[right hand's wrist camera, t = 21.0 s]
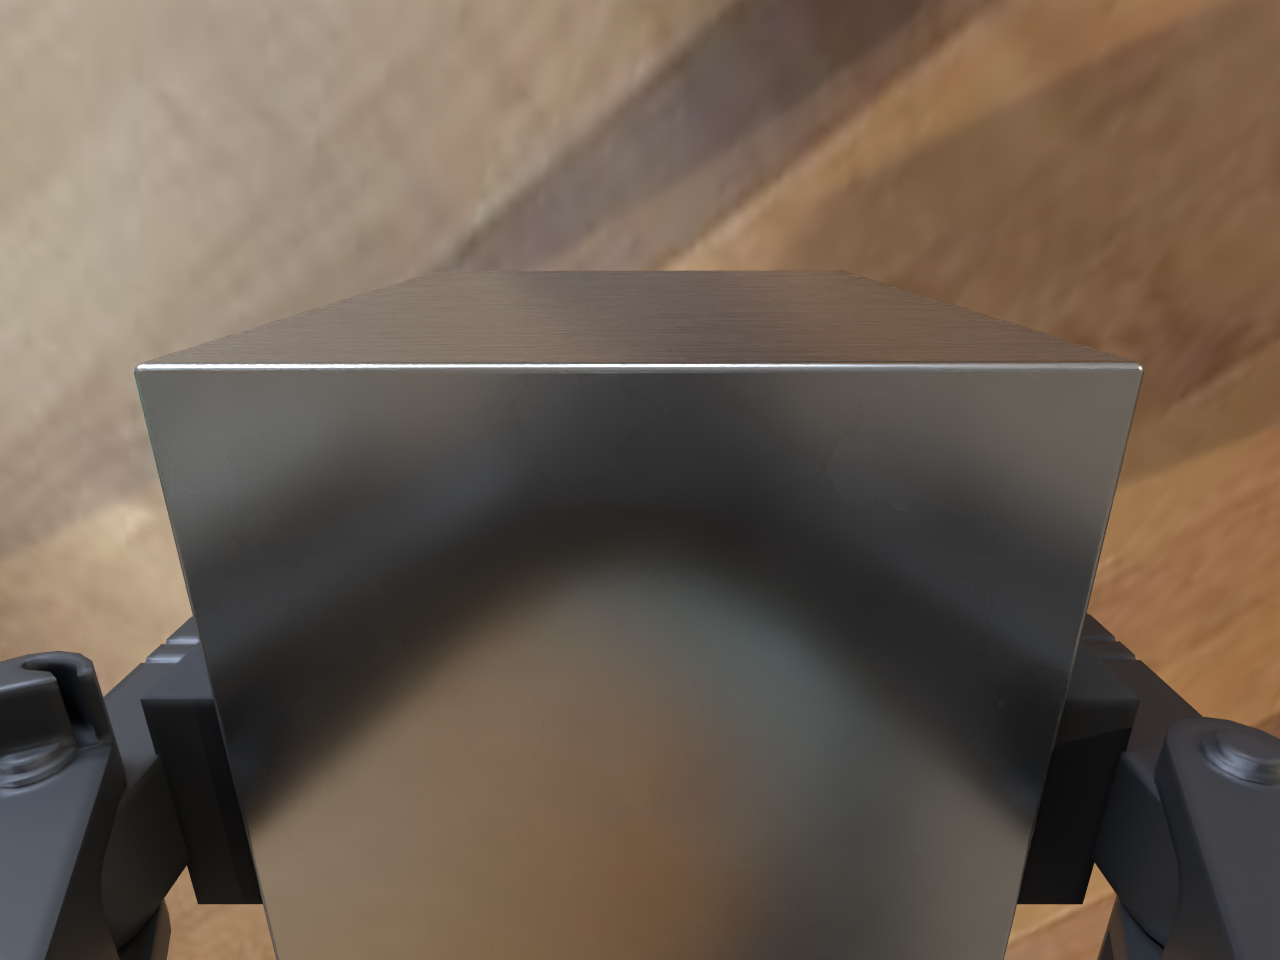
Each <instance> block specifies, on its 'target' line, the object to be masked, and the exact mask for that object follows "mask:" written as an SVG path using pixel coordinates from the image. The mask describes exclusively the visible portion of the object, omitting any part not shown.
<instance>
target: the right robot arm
mask: <svg viewBox="0 0 1280 960" xmlns="http://www.w3.org/2000/svg"><path fill="white" fill-rule="evenodd" d="M1094 862H1095V864H1096V865H1097V866H1098V868H1099V869H1100V871H1101V872H1102V874H1103V875H1104V877H1105V878H1106V879H1107V881H1108V882H1109V884H1110V885H1111V887H1112V888H1113V890H1114V891H1115V892H1116V894H1117V896H1116V900H1115V903H1114V906H1113V909H1112V913H1111V916H1110V919H1109V923H1108V926H1107V929H1106V932H1105V936H1104V939H1103V942H1102V946H1101V949H1100V952H1099V955H1098V959H1097V960H1280V739H1278V738H1276V737H1274V736H1272V735H1270V734H1268V733H1266V732H1264V731H1262V730H1259V729H1256V728H1253V727H1249V726H1246V725H1243V724H1240V723H1236V722H1233V721H1230V720H1224V719H1216V718H1208V717H1202V716H1201V715H1200V714H1199V713H1198V712H1197V711H1196V710H1195V709H1194V708H1193V707H1191V706H1190V705H1189V704H1188V703H1187V702H1186V701H1185V700H1184V699H1183V698H1182V697H1180V696H1179V695H1178V694H1177V693H1176V692H1175V691H1174V690H1173V689H1172V688H1171V687H1169V686H1168V685H1167V684H1166V683H1165V682H1164V681H1163V680H1162V679H1161V678H1159V677H1158V676H1157V675H1156V674H1155V673H1154V672H1153V671H1152V670H1151V669H1150V668H1148V667H1147V666H1146V665H1145V664H1144V663H1143V662H1142V661H1141V660H1136V659H1135V655H1134V654H1133V653H1132V652H1131V651H1130V650H1129V649H1127V648H1126V647H1125V646H1124V645H1123V644H1122V643H1121V642H1116V641H1115V637H1114V636H1113V635H1112V634H1111V633H1110V632H1109V631H1108V630H1107V629H1105V628H1104V627H1103V626H1102V625H1101V624H1100V623H1099V622H1098V621H1097V620H1095V619H1094V618H1093V617H1092V616H1091V615H1089V614H1087V613H1086V617H1085V621H1084V625H1083V629H1082V634H1081V638H1080V642H1079V646H1078V650H1077V655H1076V659H1075V663H1074V667H1073V671H1072V676H1071V680H1070V684H1069V688H1068V692H1067V696H1066V701H1065V705H1064V709H1063V713H1062V717H1061V722H1060V726H1059V730H1058V734H1057V738H1056V743H1055V747H1054V751H1053V755H1052V759H1051V763H1050V768H1049V772H1048V776H1047V780H1046V784H1045V789H1044V793H1043V797H1042V801H1041V805H1040V810H1039V814H1038V818H1037V822H1036V826H1035V831H1034V835H1033V839H1032V843H1031V847H1030V851H1029V856H1028V860H1027V864H1026V868H1025V872H1024V877H1023V881H1022V885H1021V889H1020V893H1019V898H1018V902H1017V904H1083V901H1084V897H1085V894H1086V890H1087V887H1088V883H1089V880H1090V876H1091V873H1092V869H1093V865H1094ZM186 865H187V867H188V870H189V874H190V877H191V881H192V884H193V888H194V892H195V895H196V899H197V902H198V904H263V902H262V898H261V894H260V890H259V885H258V881H257V877H256V873H255V869H254V865H253V861H252V857H251V852H250V848H249V844H248V840H247V836H246V832H245V828H244V824H243V819H242V815H241V811H240V807H239V803H238V799H237V795H236V791H235V787H234V782H233V778H232V774H231V770H230V766H229V762H228V758H227V754H226V749H225V745H224V741H223V737H222V733H221V729H220V725H219V721H218V716H217V712H216V708H215V704H214V700H213V696H212V692H211V688H210V684H209V679H208V675H207V671H206V667H205V663H204V659H203V655H202V651H201V646H200V642H199V638H198V634H197V630H196V626H195V622H194V618H193V617H191V618H190V619H189V620H187V621H186V622H185V623H184V624H183V625H182V626H181V627H180V628H179V629H178V630H177V631H175V632H174V633H173V634H172V635H171V636H170V637H169V638H168V639H167V640H166V644H161V645H160V646H159V647H158V648H157V649H156V650H155V651H154V652H152V653H151V654H150V655H149V656H148V657H147V658H146V663H140V664H139V665H138V666H137V667H136V668H135V669H134V670H133V671H132V672H131V673H130V674H128V675H127V676H126V677H125V678H124V679H123V680H122V681H121V682H120V683H119V684H117V685H116V686H115V687H114V688H113V689H112V690H111V691H110V692H109V693H108V694H107V695H105V696H104V697H103V696H102V692H101V689H100V686H99V682H98V679H97V676H96V673H95V669H94V666H93V663H92V661H91V660H90V659H88V658H86V657H85V656H83V655H82V654H80V653H72V652H62V651H54V652H45V653H36V654H28V655H25V656H21V657H17V658H13V659H9V660H6V661H2V662H0V960H166V959H167V953H168V947H169V940H170V934H171V926H170V919H169V913H168V909H167V906H166V903H165V900H164V897H165V896H166V895H167V893H168V892H169V890H170V889H171V887H172V886H173V884H174V883H175V881H176V880H177V879H178V877H179V876H180V874H181V873H182V871H183V870H184V868H185V867H186Z"/></svg>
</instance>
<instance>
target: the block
mask: <svg viewBox="0 0 1280 960" xmlns="http://www.w3.org/2000/svg"><path fill="white" fill-rule="evenodd" d="M1143 374H1144V369H1143V366H1142V364H1140V363H1138V362H1136V361H1133V360H1130V359H1126V358H1123V357H1120V356H1117V355H1114V354H1110V353H1107V352H1104V351H1101V350H1097V349H1094V348H1091V347H1088V346H1084V345H1081V344H1078V343H1075V342H1072V341H1068V340H1065V339H1062V338H1059V337H1055V336H1052V335H1049V334H1046V333H1042V332H1039V331H1036V330H1033V329H1030V328H1026V327H1023V326H1020V325H1017V324H1013V323H1010V322H1007V321H1004V320H1000V319H997V318H994V317H991V316H988V315H984V314H981V313H978V312H975V311H971V310H968V309H965V308H962V307H958V306H955V305H952V304H949V303H946V302H942V301H939V300H936V299H933V298H929V297H926V296H923V295H920V294H916V293H913V292H910V291H907V290H904V289H900V288H897V287H894V286H891V285H887V284H884V283H881V282H878V281H874V280H871V279H868V278H865V277H862V276H858V275H855V274H852V273H849V272H845V271H436V272H433V273H430V274H426V275H423V276H420V277H417V278H414V279H410V280H407V281H404V282H401V283H397V284H394V285H391V286H388V287H385V288H381V289H378V290H375V291H372V292H368V293H365V294H362V295H359V296H356V297H352V298H349V299H346V300H343V301H340V302H336V303H333V304H330V305H327V306H323V307H320V308H317V309H314V310H311V311H307V312H304V313H301V314H298V315H294V316H291V317H288V318H285V319H282V320H278V321H275V322H272V323H269V324H265V325H262V326H259V327H256V328H253V329H249V330H246V331H243V332H240V333H237V334H233V335H230V336H227V337H224V338H220V339H217V340H214V341H211V342H208V343H204V344H201V345H198V346H195V347H191V348H188V349H185V350H182V351H179V352H175V353H172V354H169V355H166V356H163V357H159V358H156V359H153V360H150V361H146V362H143V363H141V364H139V365H137V366H136V367H135V372H134V375H135V379H136V383H137V387H138V391H139V395H140V399H141V403H142V407H143V412H144V416H145V420H146V424H147V428H148V432H149V436H150V440H151V445H152V449H153V453H154V457H155V461H156V465H157V469H158V473H159V478H160V482H161V486H162V490H163V494H164V498H165V502H166V506H167V510H168V515H169V519H170V523H171V527H172V531H173V535H174V539H175V543H176V548H177V552H178V556H179V560H180V564H181V568H182V572H183V576H184V581H185V585H186V589H187V593H188V597H189V601H190V605H191V609H192V613H193V618H194V622H195V626H196V630H197V634H198V638H199V642H200V646H201V651H202V655H203V659H204V663H205V667H206V671H207V675H208V679H209V684H210V688H211V692H212V696H213V700H214V704H215V708H216V712H217V716H218V721H219V725H220V729H221V733H222V737H223V741H224V745H225V749H226V754H227V758H228V762H229V766H230V770H231V774H232V778H233V782H234V787H235V791H236V795H237V799H238V803H239V807H240V811H241V815H242V819H243V824H244V828H245V832H246V836H247V840H248V844H249V848H250V852H251V857H252V861H253V865H254V869H255V873H256V877H257V881H258V885H259V890H260V894H261V898H262V902H263V906H264V910H265V914H266V918H267V922H268V927H269V931H270V935H271V939H272V943H273V947H274V951H275V955H276V960H1004V956H1005V952H1006V948H1007V944H1008V939H1009V935H1010V931H1011V927H1012V923H1013V919H1014V914H1015V910H1016V906H1017V902H1018V898H1019V893H1020V889H1021V885H1022V881H1023V877H1024V872H1025V868H1026V864H1027V860H1028V856H1029V851H1030V847H1031V843H1032V839H1033V835H1034V831H1035V826H1036V822H1037V818H1038V814H1039V810H1040V805H1041V801H1042V797H1043V793H1044V789H1045V784H1046V780H1047V776H1048V772H1049V768H1050V763H1051V759H1052V755H1053V751H1054V747H1055V743H1056V738H1057V734H1058V730H1059V726H1060V722H1061V717H1062V713H1063V709H1064V705H1065V701H1066V696H1067V692H1068V688H1069V684H1070V680H1071V676H1072V671H1073V667H1074V663H1075V659H1076V655H1077V650H1078V646H1079V642H1080V638H1081V634H1082V629H1083V625H1084V621H1085V617H1086V613H1087V608H1088V604H1089V600H1090V596H1091V592H1092V588H1093V583H1094V579H1095V575H1096V571H1097V567H1098V562H1099V558H1100V554H1101V550H1102V546H1103V541H1104V537H1105V533H1106V529H1107V525H1108V520H1109V516H1110V512H1111V508H1112V504H1113V500H1114V495H1115V491H1116V487H1117V483H1118V479H1119V474H1120V470H1121V466H1122V462H1123V458H1124V453H1125V449H1126V445H1127V441H1128V437H1129V433H1130V428H1131V424H1132V420H1133V416H1134V412H1135V407H1136V403H1137V399H1138V395H1139V391H1140V386H1141V382H1142V378H1143Z"/></svg>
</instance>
